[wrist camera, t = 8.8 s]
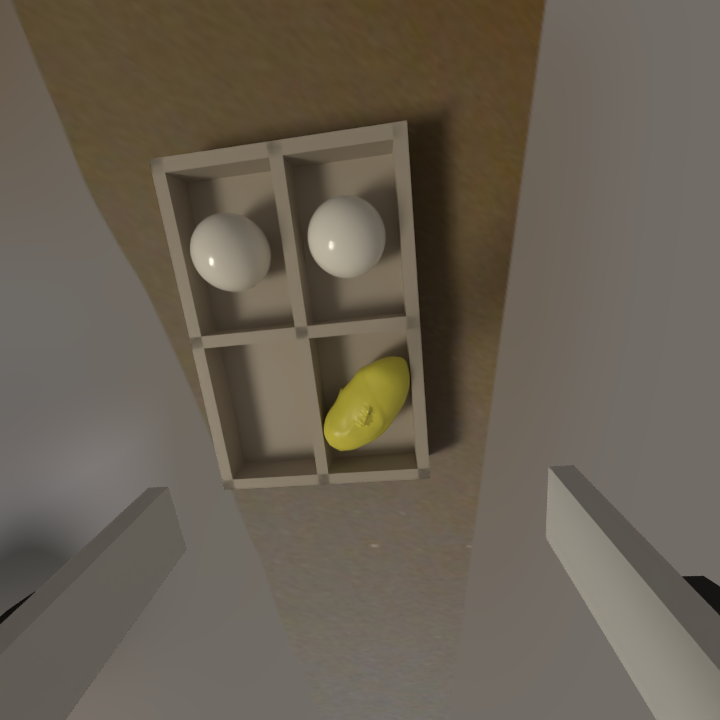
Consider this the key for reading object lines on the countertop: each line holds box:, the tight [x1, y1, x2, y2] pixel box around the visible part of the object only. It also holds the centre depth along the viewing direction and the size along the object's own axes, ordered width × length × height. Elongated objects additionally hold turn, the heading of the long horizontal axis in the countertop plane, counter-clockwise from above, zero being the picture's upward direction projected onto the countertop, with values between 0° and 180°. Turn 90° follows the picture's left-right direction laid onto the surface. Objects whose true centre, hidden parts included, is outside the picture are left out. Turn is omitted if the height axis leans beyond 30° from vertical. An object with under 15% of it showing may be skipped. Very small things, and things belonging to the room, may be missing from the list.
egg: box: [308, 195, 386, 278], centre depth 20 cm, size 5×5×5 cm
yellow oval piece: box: [324, 356, 410, 451], centre depth 22 cm, size 4×8×4 cm, turn 139°
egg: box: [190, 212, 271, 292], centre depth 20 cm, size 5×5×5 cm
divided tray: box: [149, 121, 430, 490], centre depth 23 cm, size 22×15×3 cm
